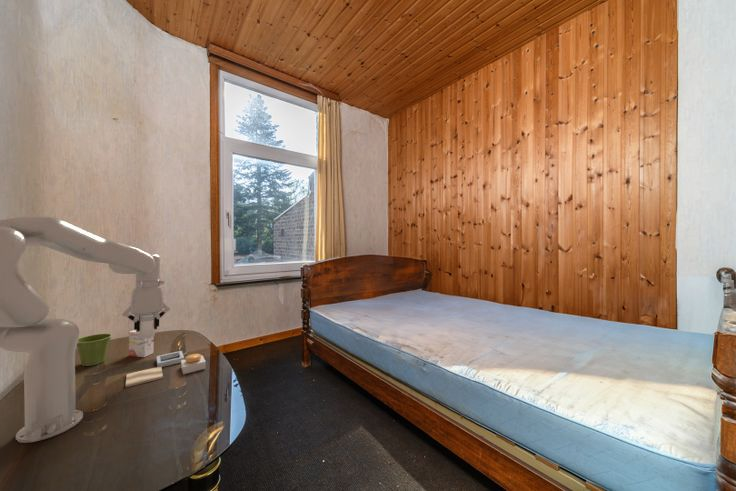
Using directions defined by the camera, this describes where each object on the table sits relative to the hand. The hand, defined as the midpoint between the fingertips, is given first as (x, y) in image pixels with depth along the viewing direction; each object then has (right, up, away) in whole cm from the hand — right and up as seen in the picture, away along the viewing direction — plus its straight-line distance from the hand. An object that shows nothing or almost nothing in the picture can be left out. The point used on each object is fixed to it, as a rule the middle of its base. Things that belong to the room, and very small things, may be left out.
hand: (146, 329), depth 108 cm
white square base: (+14, -19, +7) cm, 24 cm away
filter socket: (0, -19, +13) cm, 23 cm away
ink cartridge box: (-19, -19, +20) cm, 33 cm away
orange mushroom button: (+14, -18, +7) cm, 24 cm away
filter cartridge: (0, -3, 0) cm, 3 cm away
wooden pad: (0, -19, -1) cm, 19 cm away
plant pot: (-32, -19, +11) cm, 39 cm away
